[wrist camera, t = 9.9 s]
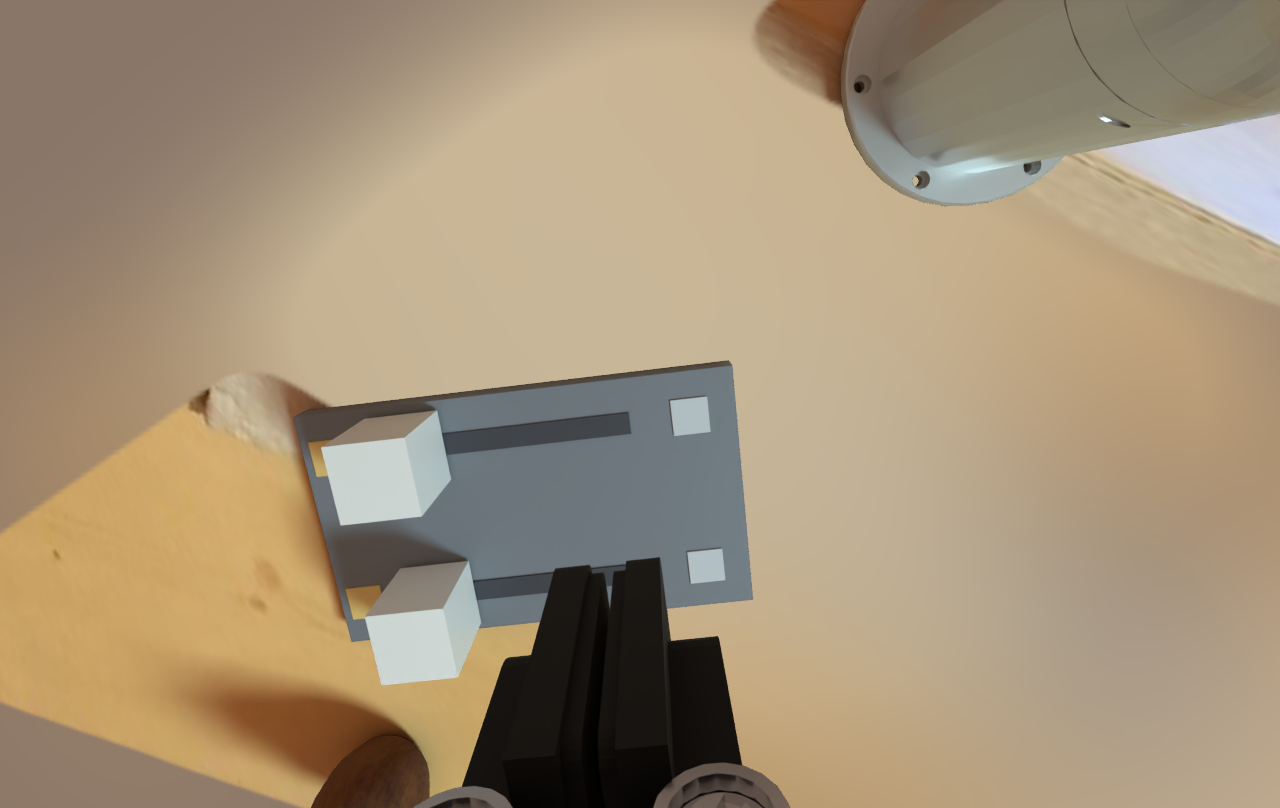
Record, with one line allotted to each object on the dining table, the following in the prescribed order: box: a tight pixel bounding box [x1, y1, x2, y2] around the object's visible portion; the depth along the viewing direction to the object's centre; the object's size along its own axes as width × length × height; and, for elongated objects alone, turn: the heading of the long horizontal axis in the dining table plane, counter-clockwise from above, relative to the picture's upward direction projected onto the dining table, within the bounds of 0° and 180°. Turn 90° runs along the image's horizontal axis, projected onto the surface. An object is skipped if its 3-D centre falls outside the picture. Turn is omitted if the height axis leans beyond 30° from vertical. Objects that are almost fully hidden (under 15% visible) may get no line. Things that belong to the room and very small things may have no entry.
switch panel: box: [293, 361, 753, 642], centre depth 38 cm, size 24×14×2 cm, turn 97°
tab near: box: [321, 410, 451, 526], centre depth 34 cm, size 4×4×5 cm
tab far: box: [365, 561, 481, 685], centre depth 36 cm, size 4×4×5 cm
